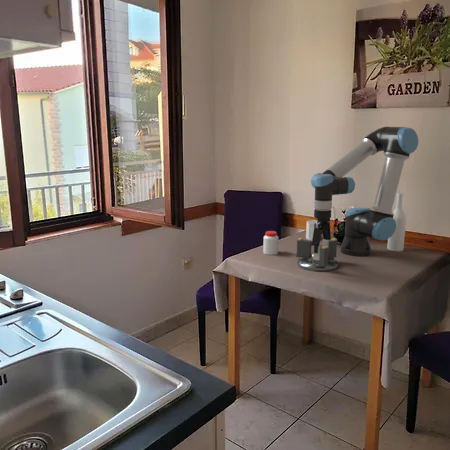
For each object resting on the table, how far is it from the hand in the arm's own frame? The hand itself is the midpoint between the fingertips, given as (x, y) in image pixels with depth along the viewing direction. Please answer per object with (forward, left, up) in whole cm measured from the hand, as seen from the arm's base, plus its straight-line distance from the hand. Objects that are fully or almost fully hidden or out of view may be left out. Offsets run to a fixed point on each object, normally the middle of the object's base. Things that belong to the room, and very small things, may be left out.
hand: (320, 256), depth 208 cm
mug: (-7, -54, -7) cm, 55 cm away
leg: (0, 0, -5) cm, 5 cm away
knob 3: (-6, -11, -5) cm, 13 cm away
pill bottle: (+21, -26, -7) cm, 34 cm away
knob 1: (+6, -11, -5) cm, 13 cm away
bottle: (-45, -33, -7) cm, 56 cm away
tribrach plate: (0, -7, -6) cm, 10 cm away
